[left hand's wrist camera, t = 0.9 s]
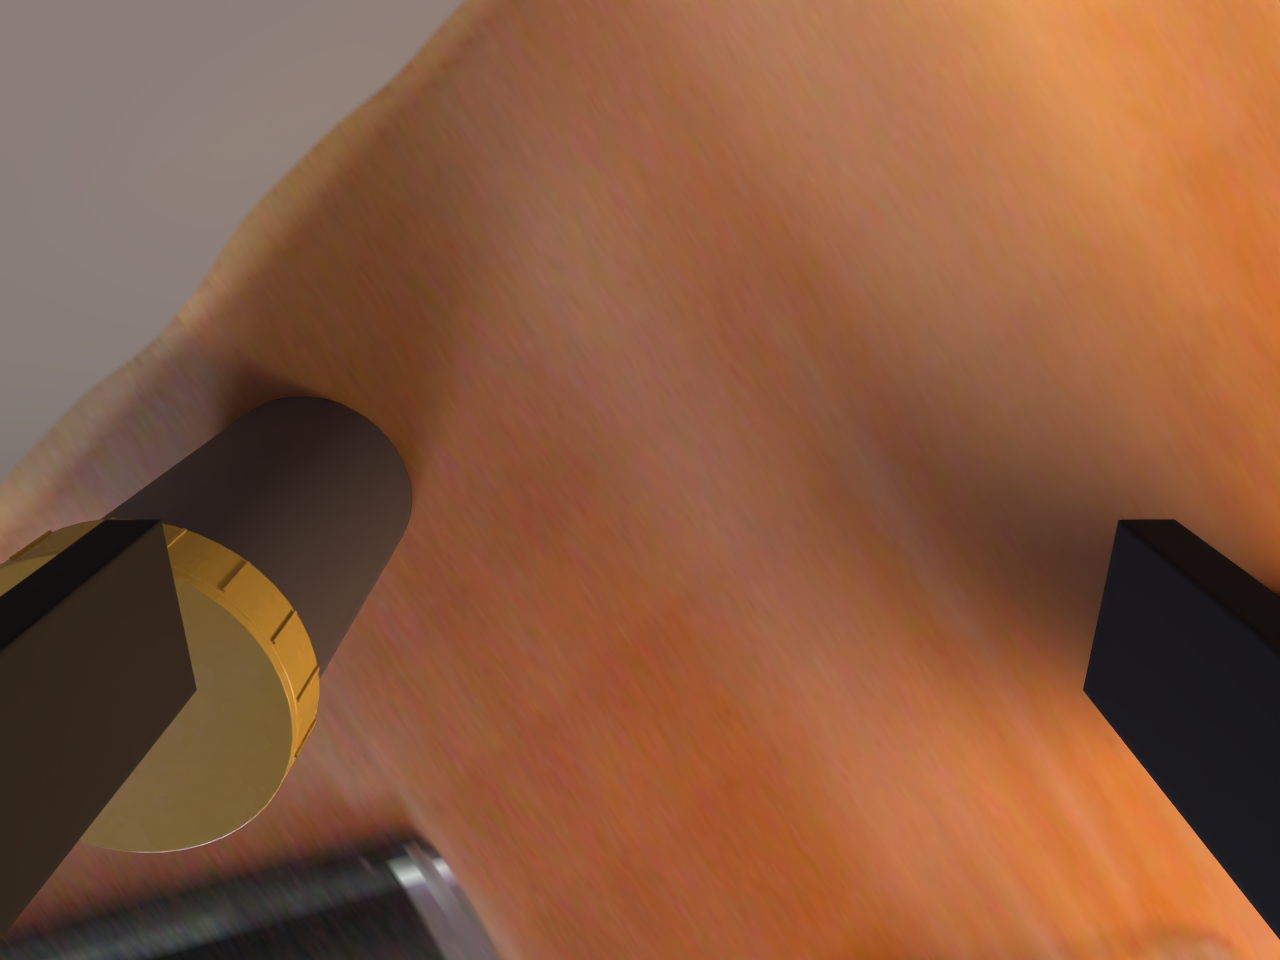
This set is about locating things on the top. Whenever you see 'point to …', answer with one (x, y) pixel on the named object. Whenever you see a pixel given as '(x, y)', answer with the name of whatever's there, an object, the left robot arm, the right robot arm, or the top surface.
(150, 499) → the screw-top jar
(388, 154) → the top surface
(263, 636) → the lid
